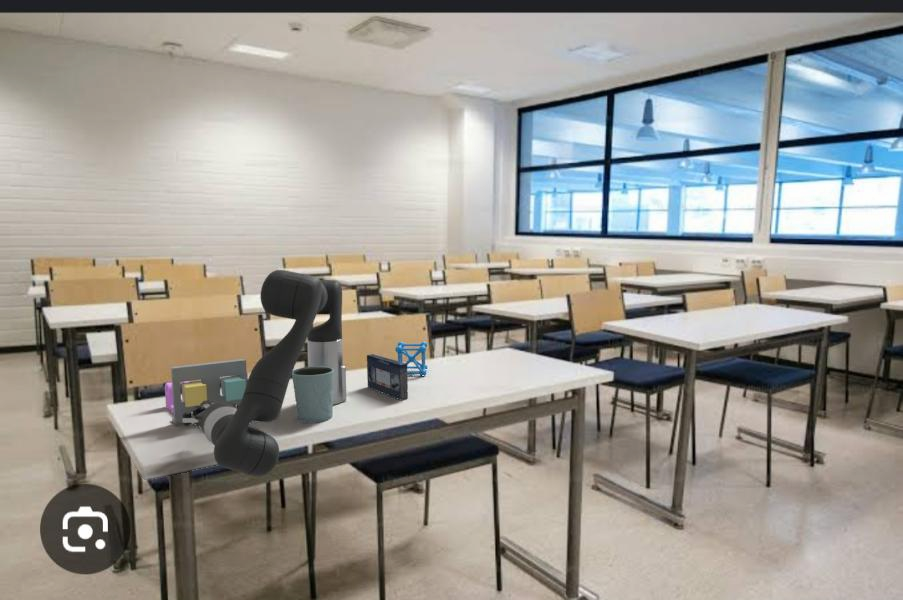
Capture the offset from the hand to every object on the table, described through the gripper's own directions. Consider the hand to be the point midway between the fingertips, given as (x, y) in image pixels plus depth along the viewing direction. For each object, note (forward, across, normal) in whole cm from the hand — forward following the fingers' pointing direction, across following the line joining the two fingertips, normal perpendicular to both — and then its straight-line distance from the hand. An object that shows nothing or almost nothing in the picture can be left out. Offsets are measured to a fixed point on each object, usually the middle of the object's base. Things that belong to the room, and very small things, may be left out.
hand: (206, 404), depth 130 cm
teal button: (+14, -9, +3) cm, 17 cm away
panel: (+19, -4, +9) cm, 21 cm away
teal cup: (+4, -26, +9) cm, 28 cm away
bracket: (+29, 0, +9) cm, 31 cm away
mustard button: (+14, 0, +3) cm, 14 cm away
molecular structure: (+32, -70, +9) cm, 78 cm away
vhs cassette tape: (+15, -52, +9) cm, 55 cm away
